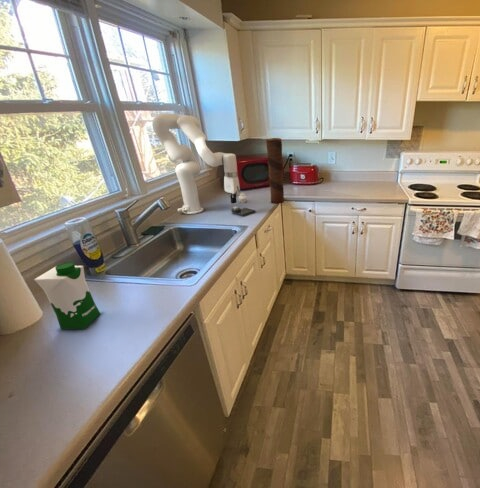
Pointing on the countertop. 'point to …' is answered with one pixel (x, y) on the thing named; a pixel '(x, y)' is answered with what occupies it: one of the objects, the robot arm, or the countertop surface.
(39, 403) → the countertop surface
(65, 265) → the milk carton
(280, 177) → the wafer roll
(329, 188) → the countertop surface
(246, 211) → the scale
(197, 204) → the robot arm
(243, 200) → the white rounded lump
